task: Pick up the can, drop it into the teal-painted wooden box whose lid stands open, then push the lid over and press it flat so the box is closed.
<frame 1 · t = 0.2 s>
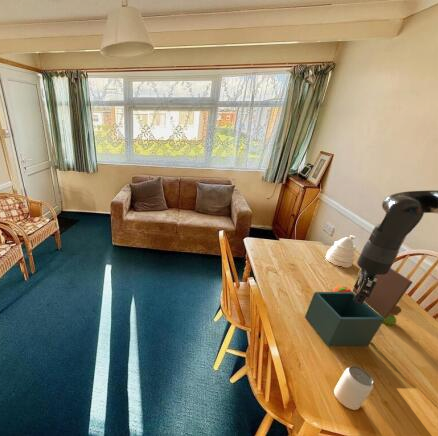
hand: (357, 295, 78), 25 cm above the table, tool pointing down, fingers open, 8 cm apart
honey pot: (337, 261, 139), on the table
clementine: (339, 299, 111), on the table
lid: (379, 287, 85), point 23 cm above the table, hinge at 95.0°
snail figurine: (382, 323, 99), on the table
can: (345, 399, 72), on the table
box: (334, 330, 95), on the table
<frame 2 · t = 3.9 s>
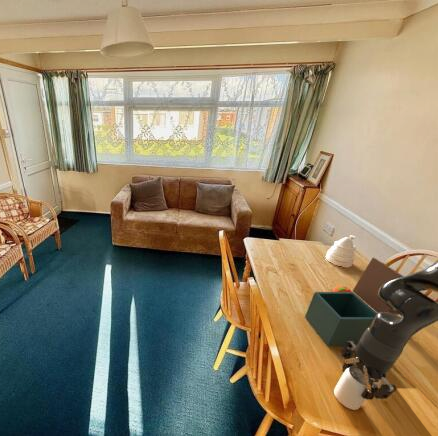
hand: (355, 383, 69), 8 cm above the table, tool pointing down, fingers closed on can, 6 cm apart
can: (345, 399, 72), on the table, touching gripper
everything else where it was.
when the fingers open (20 cm above the table, at t = 11.6 s): can drops 10 cm, resting on box.
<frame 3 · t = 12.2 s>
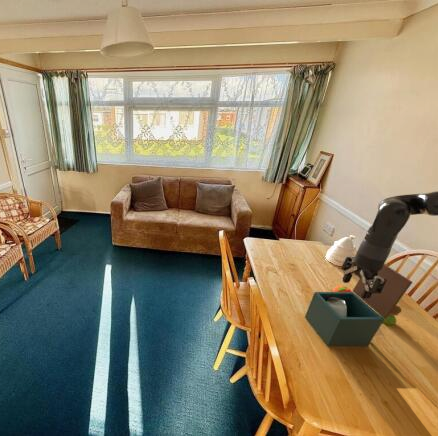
hand: (354, 289, 86), 22 cm above the table, tool pointing down, fingers open, 8 cm apart
can: (335, 327, 94), point 2 cm above the table, touching box
everything else where it was.
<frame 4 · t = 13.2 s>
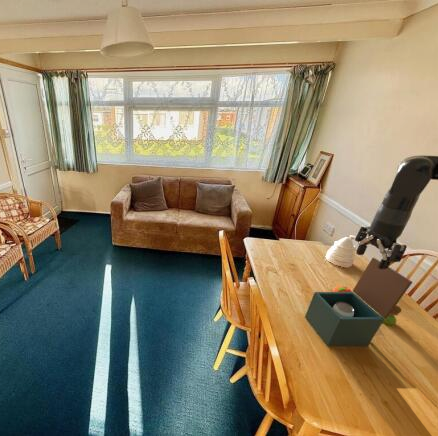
hand: (369, 261, 80), 35 cm above the table, tool pointing down, fingers open, 8 cm apart
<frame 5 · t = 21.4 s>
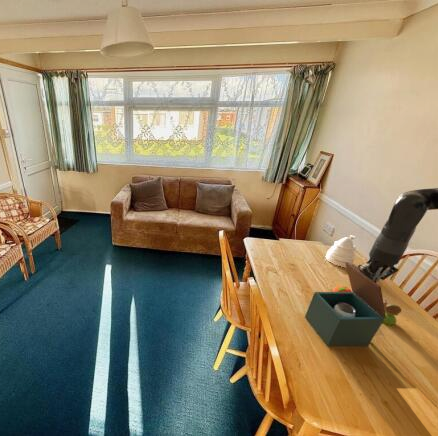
hand: (367, 287, 85), 23 cm above the table, tool pointing down, fingers closed
lid: (364, 289, 86), point 22 cm above the table, hinge at 60.3°, touching gripper
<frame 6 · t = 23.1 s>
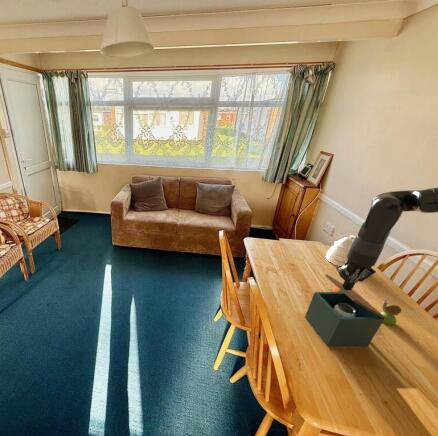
hand: (346, 288, 86), 22 cm above the table, tool pointing down, fingers closed
lid: (353, 295, 87), point 19 cm above the table, hinge at 30.6°, touching gripper
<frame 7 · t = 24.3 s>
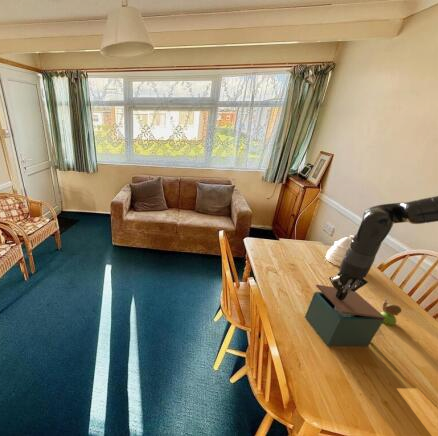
hand: (339, 298, 87), 18 cm above the table, tool pointing down, fingers closed
lid: (348, 300, 88), point 16 cm above the table, hinge at 10.6°
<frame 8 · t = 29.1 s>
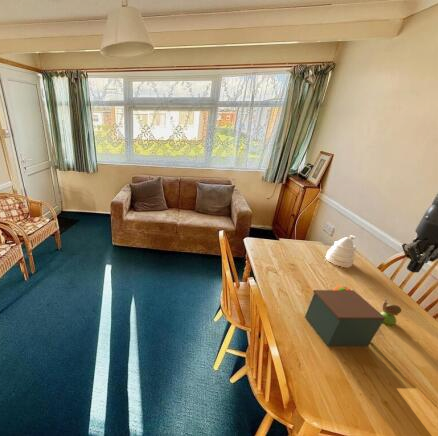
hand: (412, 270, 72), 37 cm above the table, tool pointing down, fingers closed
lid: (346, 303, 89), point 15 cm above the table, hinge at 0.3°
at the end: can inside the target area in the box (0.1 cm from its centre), point 0.8 cm above the box's base; lid at +0° (first picture: +95°) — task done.
